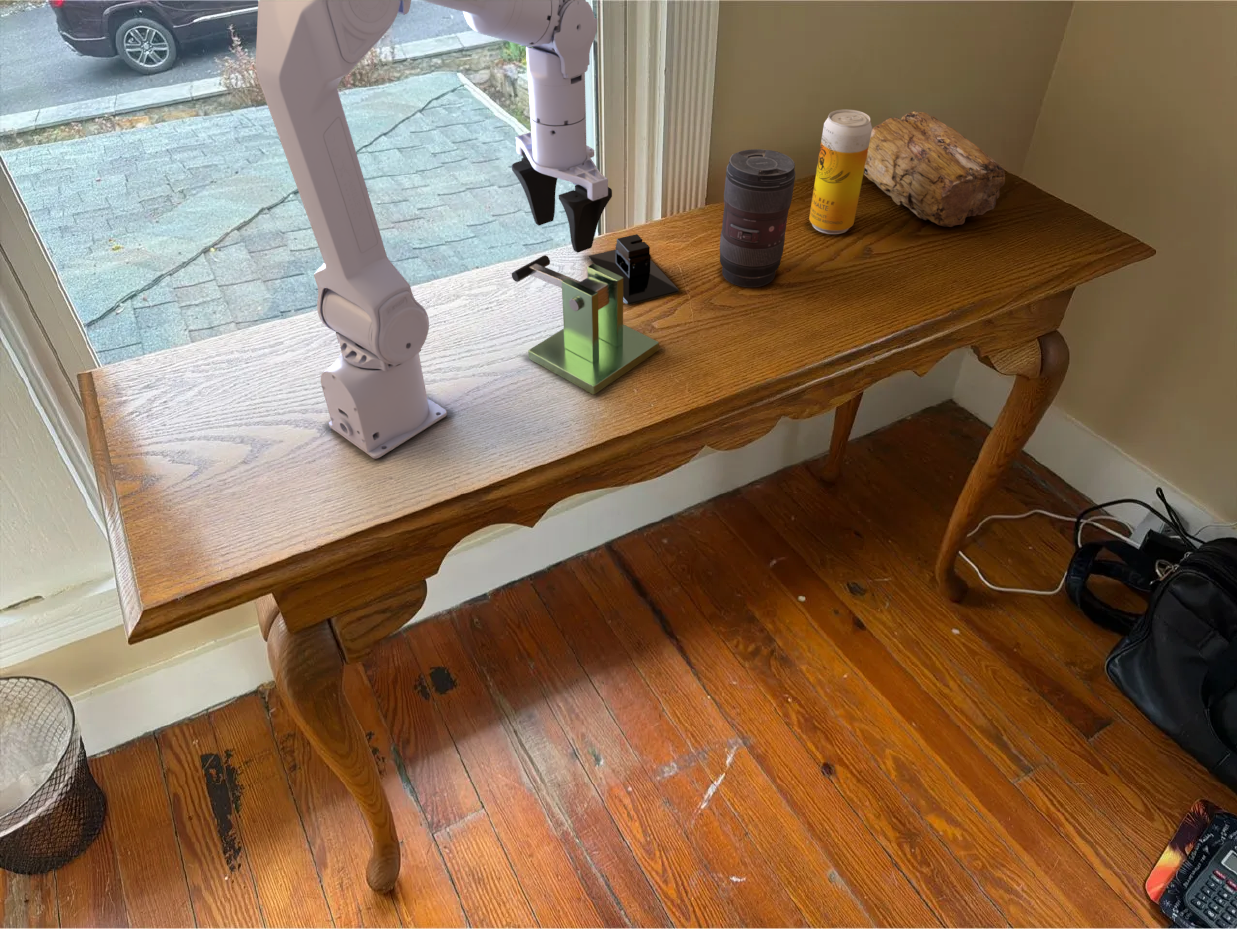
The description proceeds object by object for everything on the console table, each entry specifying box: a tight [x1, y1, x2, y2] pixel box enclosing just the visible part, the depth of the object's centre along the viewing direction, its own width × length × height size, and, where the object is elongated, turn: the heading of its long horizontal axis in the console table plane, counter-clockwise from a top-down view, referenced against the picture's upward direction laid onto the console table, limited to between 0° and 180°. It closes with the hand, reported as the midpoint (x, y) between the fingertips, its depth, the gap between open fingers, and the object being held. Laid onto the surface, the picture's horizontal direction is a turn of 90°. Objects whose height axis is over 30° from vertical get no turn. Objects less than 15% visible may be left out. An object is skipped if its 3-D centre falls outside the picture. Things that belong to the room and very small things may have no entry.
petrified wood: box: [863, 110, 1006, 228], centre depth 127 cm, size 19×13×10 cm
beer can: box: [808, 108, 873, 235], centre depth 120 cm, size 6×6×15 cm
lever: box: [511, 254, 610, 310], centre depth 99 cm, size 12×5×2 cm, turn 49°
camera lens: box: [719, 148, 796, 288], centre depth 110 cm, size 8×8×15 cm
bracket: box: [527, 263, 660, 396], centre depth 99 cm, size 10×11×10 cm
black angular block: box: [588, 233, 680, 306], centre depth 113 cm, size 12×7×5 cm, turn 25°
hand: (563, 235), depth 102 cm, fingers open, 7 cm apart
